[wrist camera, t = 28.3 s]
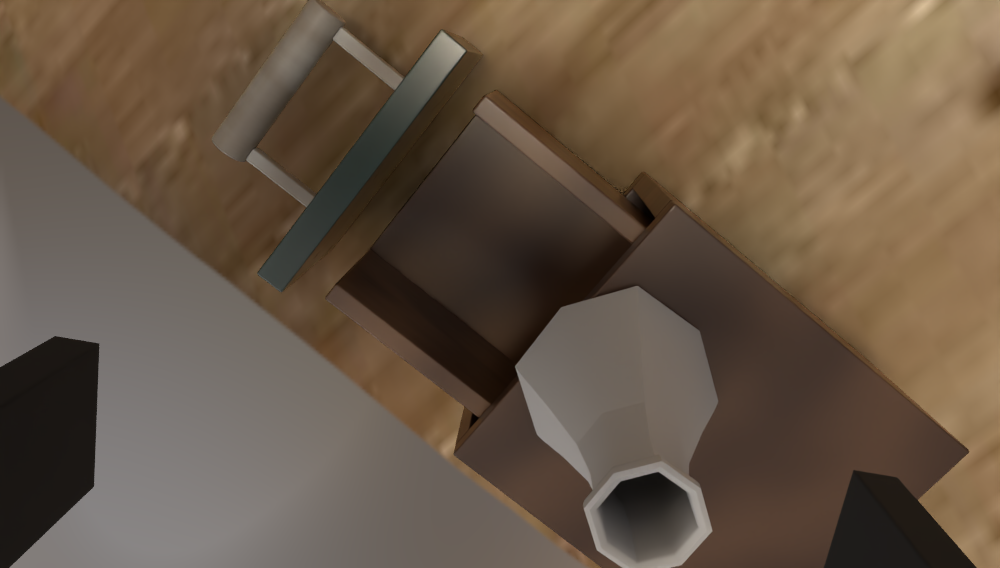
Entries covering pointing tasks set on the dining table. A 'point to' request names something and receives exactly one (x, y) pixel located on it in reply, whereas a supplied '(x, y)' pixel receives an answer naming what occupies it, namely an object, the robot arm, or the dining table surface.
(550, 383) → the flask
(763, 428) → the cabinet
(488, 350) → the drawer
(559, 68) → the dining table surface
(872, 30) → the dining table surface
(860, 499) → the robot arm
